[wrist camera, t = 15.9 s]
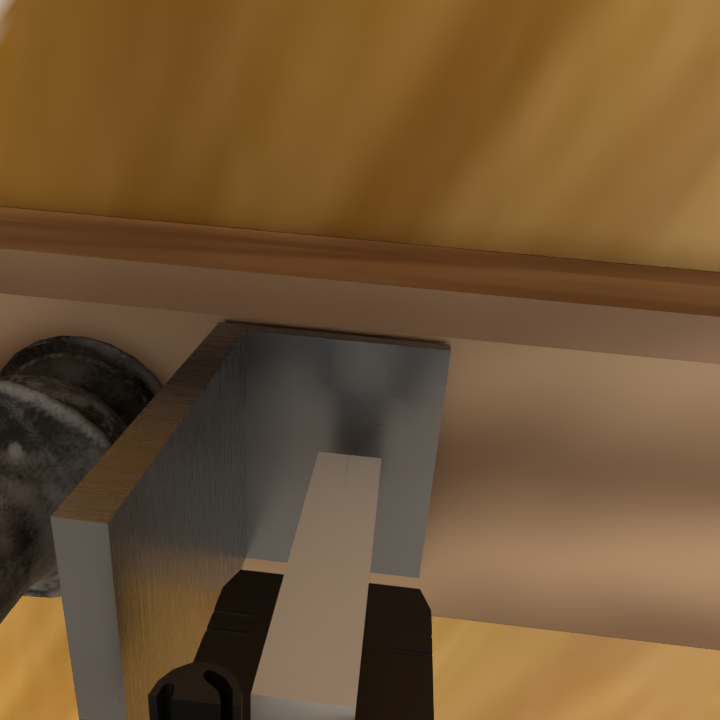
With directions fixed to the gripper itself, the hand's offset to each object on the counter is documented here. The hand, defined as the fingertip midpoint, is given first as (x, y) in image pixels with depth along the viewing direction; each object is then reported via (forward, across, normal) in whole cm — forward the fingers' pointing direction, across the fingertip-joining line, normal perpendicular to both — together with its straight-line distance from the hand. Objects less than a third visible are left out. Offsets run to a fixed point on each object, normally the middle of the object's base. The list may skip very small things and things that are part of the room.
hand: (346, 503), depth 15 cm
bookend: (+2, -1, 0) cm, 2 cm away
